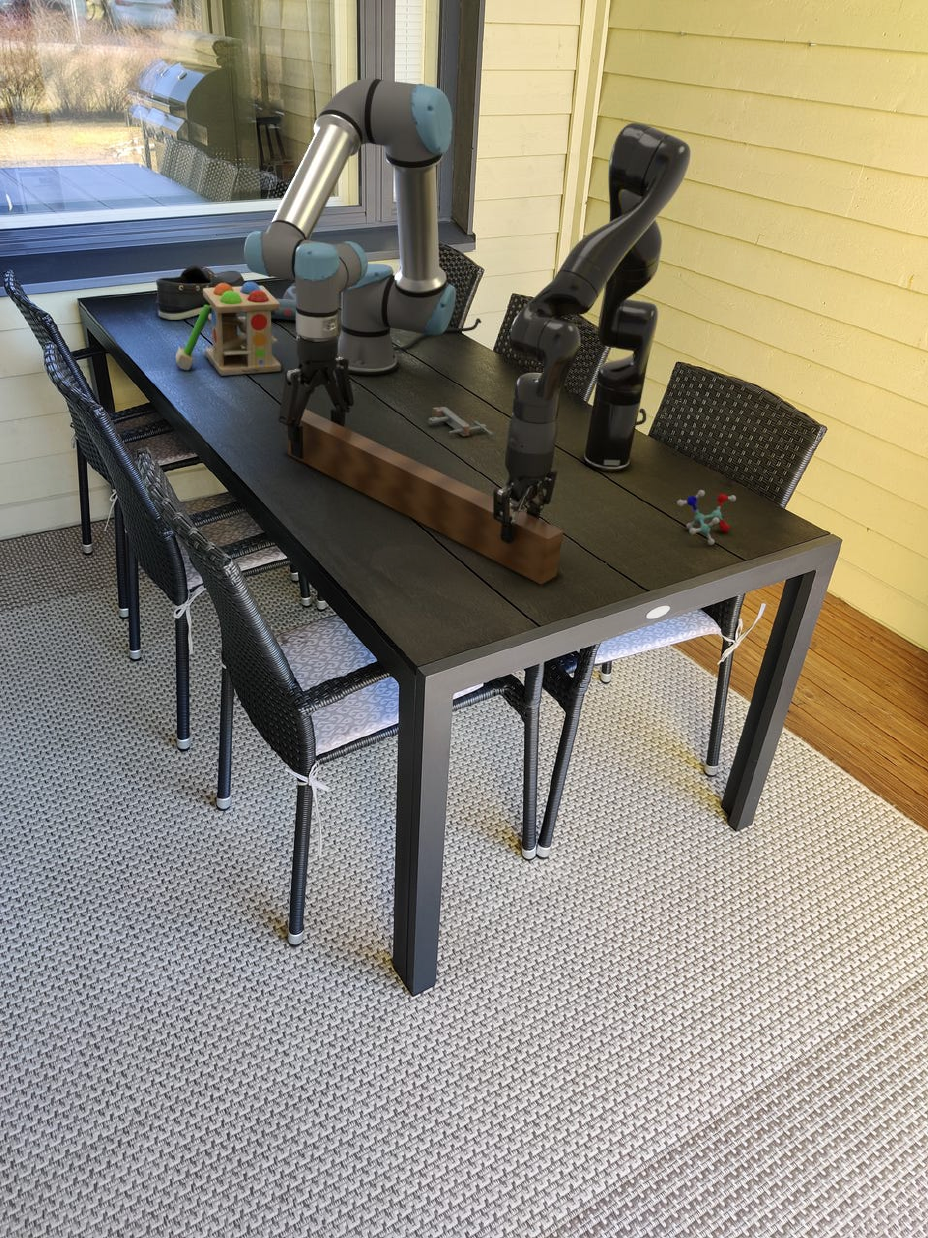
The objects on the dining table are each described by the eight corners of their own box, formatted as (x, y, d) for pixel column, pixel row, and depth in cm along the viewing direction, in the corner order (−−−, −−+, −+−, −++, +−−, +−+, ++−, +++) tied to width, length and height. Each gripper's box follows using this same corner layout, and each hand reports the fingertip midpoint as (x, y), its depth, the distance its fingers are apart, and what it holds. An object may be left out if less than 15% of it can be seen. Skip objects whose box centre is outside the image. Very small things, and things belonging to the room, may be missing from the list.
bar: (287, 454, 194) (286, 413, 189) (303, 448, 196) (303, 407, 191) (541, 584, 161) (548, 539, 156) (556, 575, 164) (563, 530, 159)
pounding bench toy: (183, 379, 220) (176, 299, 210) (169, 357, 231) (162, 280, 221) (282, 371, 230) (280, 294, 220) (264, 350, 240) (262, 276, 230)
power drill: (344, 304, 276) (335, 327, 259) (277, 298, 275) (264, 321, 258) (344, 285, 273) (335, 306, 256) (277, 279, 272) (264, 300, 255)
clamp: (420, 409, 212) (460, 403, 217) (420, 418, 213) (460, 412, 218) (454, 436, 202) (496, 430, 206) (454, 446, 203) (495, 439, 208)
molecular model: (741, 539, 172) (725, 484, 171) (688, 553, 176) (672, 500, 174) (745, 528, 183) (730, 477, 181) (695, 542, 186) (680, 492, 185)
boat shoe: (264, 299, 275) (261, 260, 270) (175, 322, 251) (171, 280, 246) (230, 290, 281) (227, 253, 275) (140, 312, 257) (136, 271, 251)
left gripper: (283, 353, 168) (285, 471, 181) (375, 329, 182) (371, 440, 195) (255, 340, 172) (259, 457, 184) (347, 318, 186) (345, 428, 199)
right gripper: (521, 462, 147) (509, 558, 156) (577, 437, 156) (562, 530, 166) (483, 445, 151) (473, 540, 160) (540, 422, 160) (527, 513, 170)
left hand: (317, 448), depth 190 cm, fingers open, 9 cm apart
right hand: (519, 534), depth 163 cm, fingers open, 6 cm apart
